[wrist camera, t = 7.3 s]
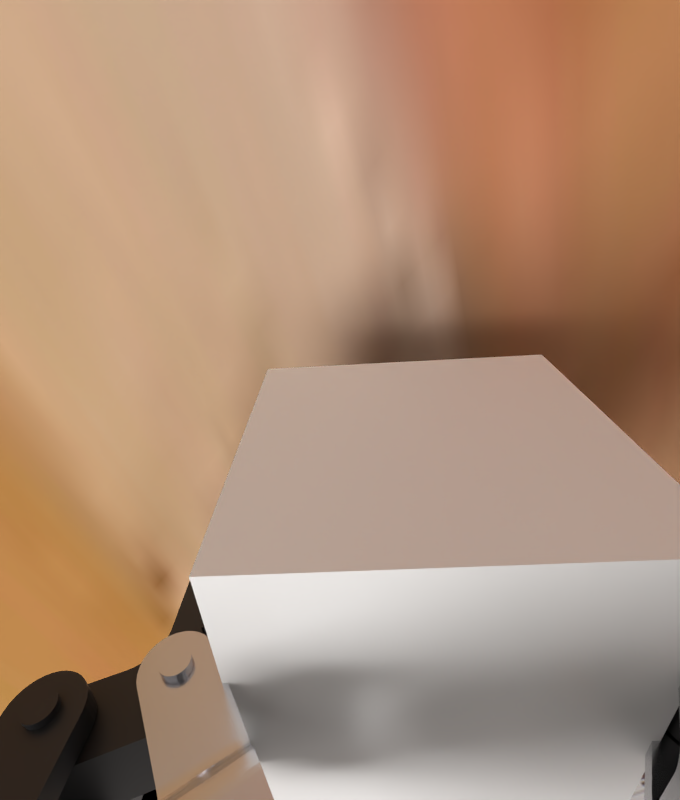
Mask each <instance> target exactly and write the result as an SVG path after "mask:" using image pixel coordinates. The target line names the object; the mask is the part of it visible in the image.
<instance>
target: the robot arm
mask: <svg viewBox="0 0 680 800" xmlns="http://www.w3.org/2000/svg"><path fill="white" fill-rule="evenodd" d="M678 690H679V707H678V709H677V711H676V712H675V714H674V716H673V718H672V720H671V722H670V724H669V726H668V728H667V730H666V732H665V734H664V736H663V737H662V739H661V741H652V742H651V744H650V746H649V748H648V750H647V752H646V754H645V790H644V800H680V686H679V688H678ZM155 789H156V792H157V799H158V800H274V798H273V796H272V793H271V790H270V788H269V785H268V782H267V780H266V777H265V774H264V772H263V769H262V767H261V764H260V761H259V759H258V756H257V754H256V751H255V749H254V747H253V745H252V744H251V742H250V739H249V737H248V734H247V732H246V729H245V726H244V724H243V721H242V718H241V716H240V713H239V710H238V708H237V705H236V703H235V700H234V697H233V695H232V692H231V689H230V687H229V684H228V683H222V681H221V678H220V675H219V672H218V669H217V665H216V662H215V659H214V656H213V653H212V649H211V646H210V643H209V640H208V636H207V633H206V630H205V627H204V624H203V620H202V617H201V614H200V611H199V608H198V604H197V601H196V598H195V595H194V591H193V588H192V585H191V582H189V585H188V587H187V590H186V593H185V595H184V598H183V601H182V603H181V606H180V609H179V611H178V614H177V617H176V619H175V622H174V625H173V628H172V630H171V632H170V634H169V636H168V637H167V638H165V639H163V640H162V641H160V642H159V643H158V644H156V645H155V646H154V647H153V648H152V649H151V650H150V651H149V653H148V654H147V655H146V657H145V658H144V660H143V661H142V663H141V664H140V665H138V666H136V667H134V668H132V669H129V670H127V671H124V672H121V673H118V674H116V675H113V676H110V677H107V678H104V679H101V680H98V681H95V682H93V683H90V684H87V682H86V681H85V679H84V678H83V677H82V676H81V675H80V674H78V673H76V672H73V671H59V672H55V673H51V674H49V675H46V676H44V677H42V678H40V679H38V680H36V681H35V682H33V683H32V684H30V685H29V686H27V687H26V688H25V689H24V690H22V691H21V692H20V693H19V694H18V695H17V696H16V697H15V698H14V699H13V700H12V701H11V702H10V704H9V705H8V706H7V708H6V709H5V710H4V712H3V713H2V715H1V716H0V800H131V799H134V798H136V797H138V796H141V795H143V794H145V793H148V792H150V791H152V790H155Z"/></svg>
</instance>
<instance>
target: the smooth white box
mask: <svg viewBox="0 0 680 800" xmlns="http://www.w3.org/2000/svg"><path fill="white" fill-rule="evenodd" d="M189 579H190V582H191V585H192V588H193V591H194V595H195V598H196V601H197V604H198V608H199V611H200V614H201V617H202V620H203V624H204V627H205V630H206V633H207V636H208V640H209V643H210V646H211V649H212V653H213V656H214V659H215V662H216V665H217V669H218V672H219V675H220V678H221V681H222V683H228V684H229V687H230V689H231V692H232V695H233V697H234V700H235V703H236V705H237V708H238V710H239V713H240V716H241V718H242V721H243V724H244V726H245V729H246V732H247V734H248V737H249V739H250V742H251V744H252V745H253V747H254V749H255V751H256V754H257V756H258V759H259V761H260V764H261V767H262V769H263V772H264V774H265V777H266V780H267V782H268V785H269V788H270V790H271V793H272V796H273V798H274V800H630V799H631V797H632V795H633V793H634V791H635V789H636V788H637V786H638V784H639V782H640V780H641V778H642V776H643V774H644V772H645V754H646V752H647V750H648V748H649V746H650V744H651V742H652V741H661V739H662V737H663V736H664V734H665V732H666V730H667V728H668V726H669V724H670V722H671V720H672V718H673V716H674V714H675V712H676V711H677V709H678V707H679V690H678V688H679V686H680V484H679V483H678V482H677V481H675V480H674V479H673V478H672V477H671V476H670V475H669V474H668V473H667V472H666V471H665V470H664V469H663V468H662V467H661V466H660V465H659V464H657V463H656V462H655V461H654V460H653V459H652V458H651V457H650V456H649V455H648V454H647V453H646V452H645V451H644V450H643V449H642V448H640V447H639V446H638V445H637V444H636V443H635V442H634V441H633V440H632V439H631V438H630V437H629V436H628V435H627V434H626V433H625V432H623V431H622V430H621V429H620V428H619V427H618V426H617V425H616V424H615V423H614V422H613V421H612V420H611V419H610V418H609V417H608V416H606V415H605V414H604V413H603V412H602V411H601V410H600V409H599V408H598V407H597V406H596V405H595V404H594V403H593V402H592V401H591V400H589V399H588V398H587V397H586V396H585V395H584V394H583V393H582V392H581V391H580V390H579V389H578V388H577V387H576V386H575V385H574V384H573V383H571V382H570V381H569V380H568V379H567V378H566V377H565V376H564V375H563V374H562V373H561V372H560V371H559V370H558V369H557V368H556V367H554V366H553V365H552V364H551V363H550V362H549V361H548V360H547V359H546V358H545V357H544V356H543V355H524V356H505V357H486V358H467V359H448V360H429V361H410V362H390V363H371V364H352V365H333V366H314V367H295V368H276V369H268V370H267V373H266V376H265V378H264V381H263V384H262V386H261V389H260V391H259V394H258V397H257V399H256V402H255V405H254V407H253V410H252V412H251V415H250V418H249V420H248V423H247V426H246V428H245V431H244V434H243V436H242V439H241V441H240V444H239V447H238V449H237V452H236V455H235V457H234V460H233V463H232V465H231V468H230V470H229V473H228V476H227V478H226V481H225V484H224V486H223V489H222V491H221V494H220V497H219V499H218V502H217V505H216V507H215V510H214V513H213V515H212V518H211V520H210V523H209V526H208V528H207V531H206V534H205V536H204V539H203V542H202V544H201V547H200V549H199V552H198V555H197V557H196V560H195V563H194V565H193V568H192V570H191V573H190V576H189Z"/></svg>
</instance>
